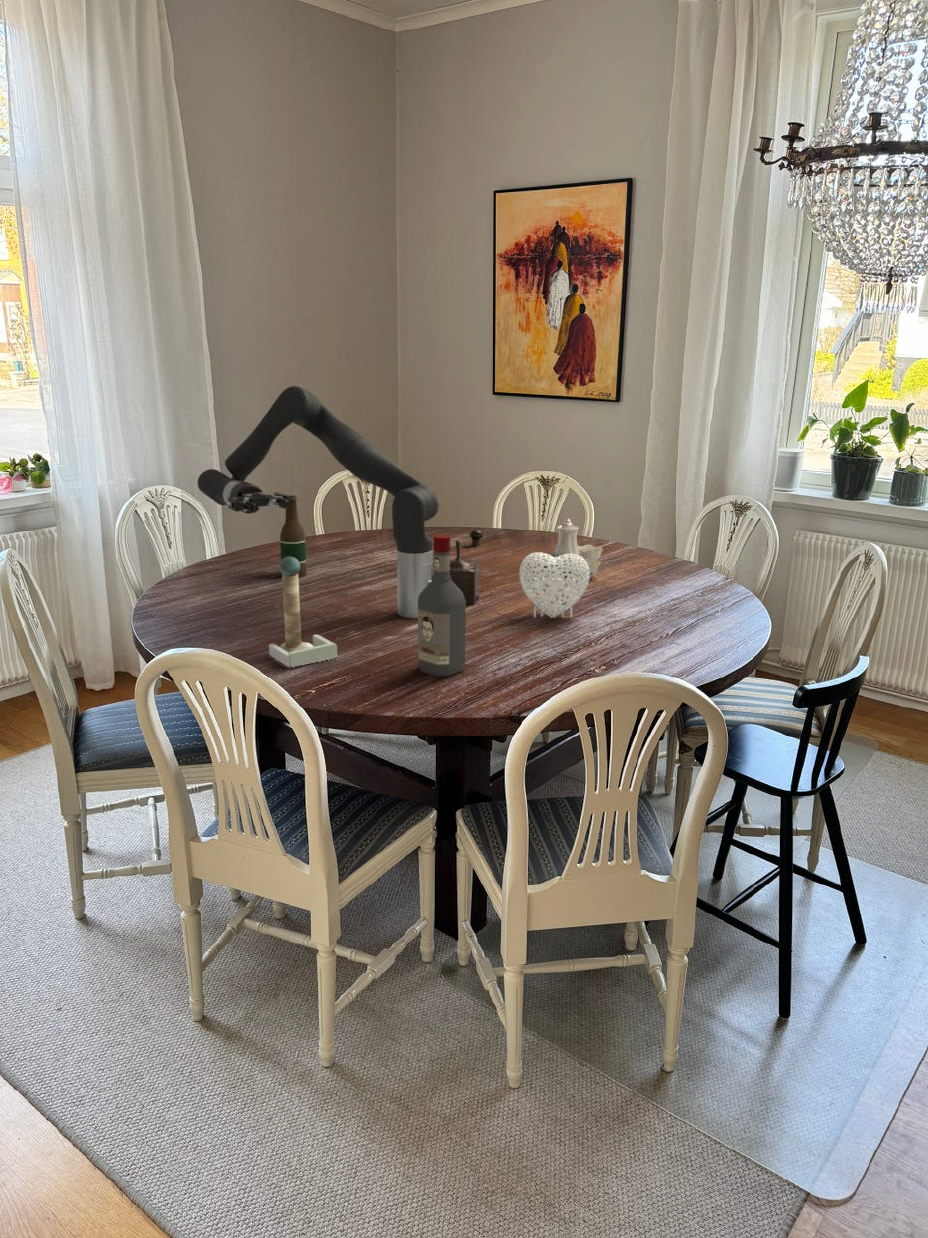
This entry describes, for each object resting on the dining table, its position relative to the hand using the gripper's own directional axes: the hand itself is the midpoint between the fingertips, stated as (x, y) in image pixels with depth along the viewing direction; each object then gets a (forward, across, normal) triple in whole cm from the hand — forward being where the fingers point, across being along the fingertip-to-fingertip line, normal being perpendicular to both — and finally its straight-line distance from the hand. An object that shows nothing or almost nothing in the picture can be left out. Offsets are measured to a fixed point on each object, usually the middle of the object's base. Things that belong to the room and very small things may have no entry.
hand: (271, 506), depth 228 cm
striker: (+21, -6, +30) cm, 37 cm away
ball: (+28, -6, +28) cm, 40 cm away
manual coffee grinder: (+7, +53, +30) cm, 61 cm away
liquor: (+50, +15, +30) cm, 60 cm away
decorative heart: (+36, +61, +30) cm, 77 cm away
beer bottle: (-40, +25, +30) cm, 56 cm away
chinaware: (+4, +99, +30) cm, 104 cm away
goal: (+26, -6, +30) cm, 40 cm away
